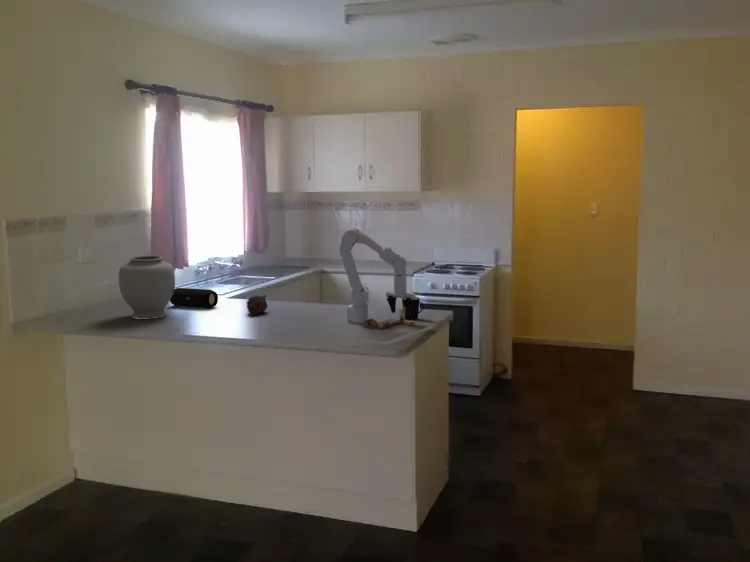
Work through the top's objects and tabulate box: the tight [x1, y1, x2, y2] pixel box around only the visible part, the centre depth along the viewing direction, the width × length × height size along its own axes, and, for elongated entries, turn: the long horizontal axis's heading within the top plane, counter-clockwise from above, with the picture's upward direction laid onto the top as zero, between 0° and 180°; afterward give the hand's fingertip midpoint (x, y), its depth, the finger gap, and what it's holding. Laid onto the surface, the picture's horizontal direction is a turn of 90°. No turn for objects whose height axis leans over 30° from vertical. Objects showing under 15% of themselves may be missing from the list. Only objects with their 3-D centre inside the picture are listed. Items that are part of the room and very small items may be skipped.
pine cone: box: [246, 294, 268, 316], centre depth 374 cm, size 18×10×10 cm
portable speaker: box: [169, 287, 219, 309], centre depth 396 cm, size 26×10×10 cm, turn 67°
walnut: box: [370, 319, 378, 327], centre depth 331 cm, size 3×3×3 cm
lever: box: [377, 308, 406, 330], centre depth 333 cm, size 3×18×6 cm, turn 140°
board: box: [363, 318, 418, 331], centre depth 335 cm, size 17×21×4 cm
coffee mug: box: [401, 296, 425, 321], centre depth 351 cm, size 12×9×10 cm
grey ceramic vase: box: [118, 255, 176, 318], centre depth 371 cm, size 27×27×30 cm
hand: (400, 313), depth 339 cm, fingers open, 7 cm apart
